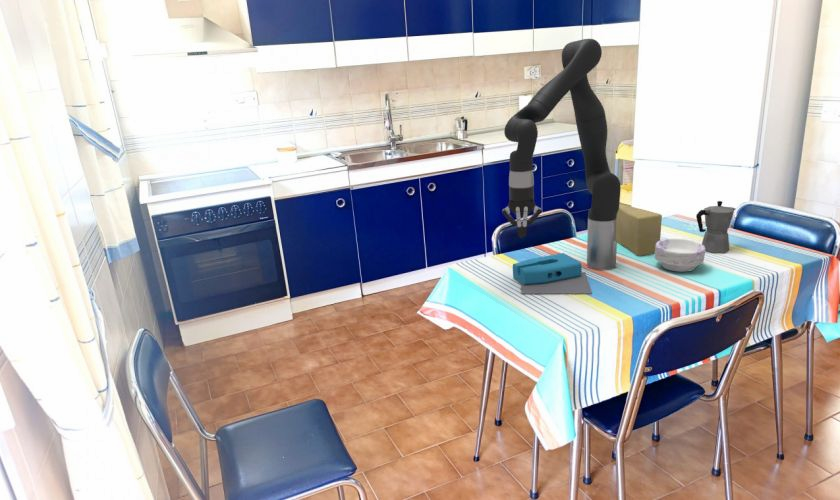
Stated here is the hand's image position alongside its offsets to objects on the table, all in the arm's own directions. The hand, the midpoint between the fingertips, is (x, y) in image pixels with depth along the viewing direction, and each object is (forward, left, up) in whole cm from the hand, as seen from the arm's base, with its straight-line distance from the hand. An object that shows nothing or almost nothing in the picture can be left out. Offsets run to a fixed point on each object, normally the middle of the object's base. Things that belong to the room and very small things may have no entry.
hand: (522, 237), depth 180 cm
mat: (-10, 0, -16) cm, 19 cm away
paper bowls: (-52, -14, -16) cm, 56 cm away
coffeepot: (-68, -31, -16) cm, 76 cm away
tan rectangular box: (-41, -37, -16) cm, 57 cm away
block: (+1, -1, -13) cm, 13 cm away
